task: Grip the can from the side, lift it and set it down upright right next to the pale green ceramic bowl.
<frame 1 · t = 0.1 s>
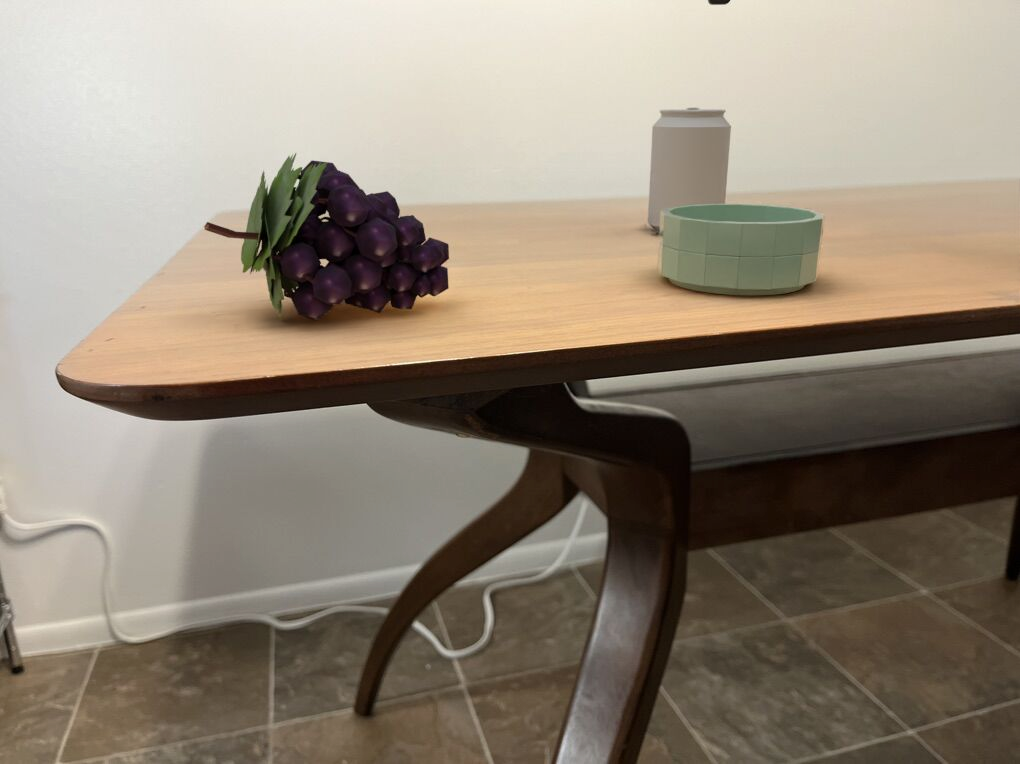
can: (684, 234, 83), on the table
fruit: (340, 315, 52), on the table
bowl: (735, 281, 60), on the table
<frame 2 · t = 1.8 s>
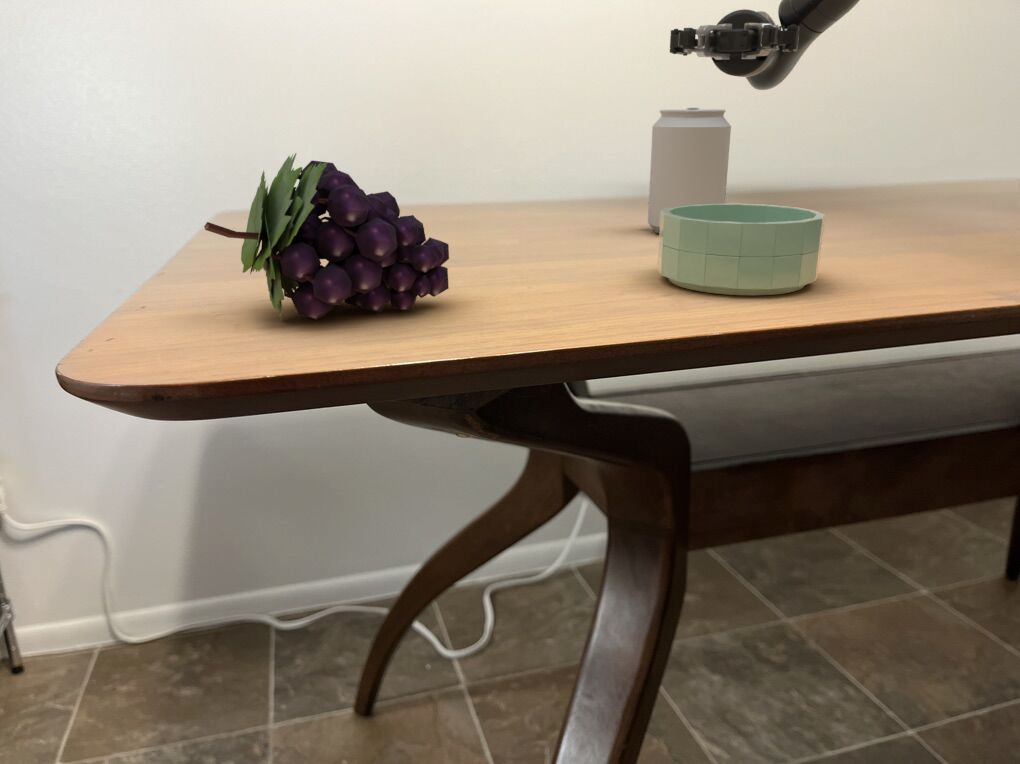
hand: (725, 36, 88), 19 cm above the table, tool horizontal, fingers open, 8 cm apart
nothing on the table moved.
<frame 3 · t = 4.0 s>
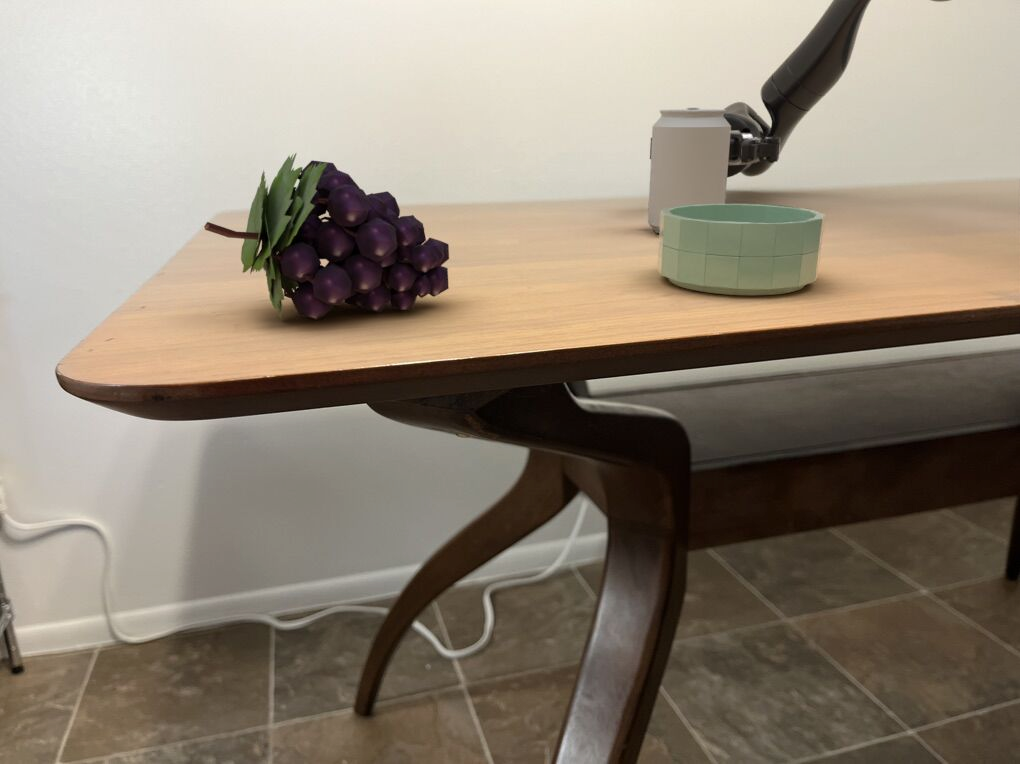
hand: (704, 151, 87), 7 cm above the table, tool horizontal, fingers open, 8 cm apart
nothing on the table moved.
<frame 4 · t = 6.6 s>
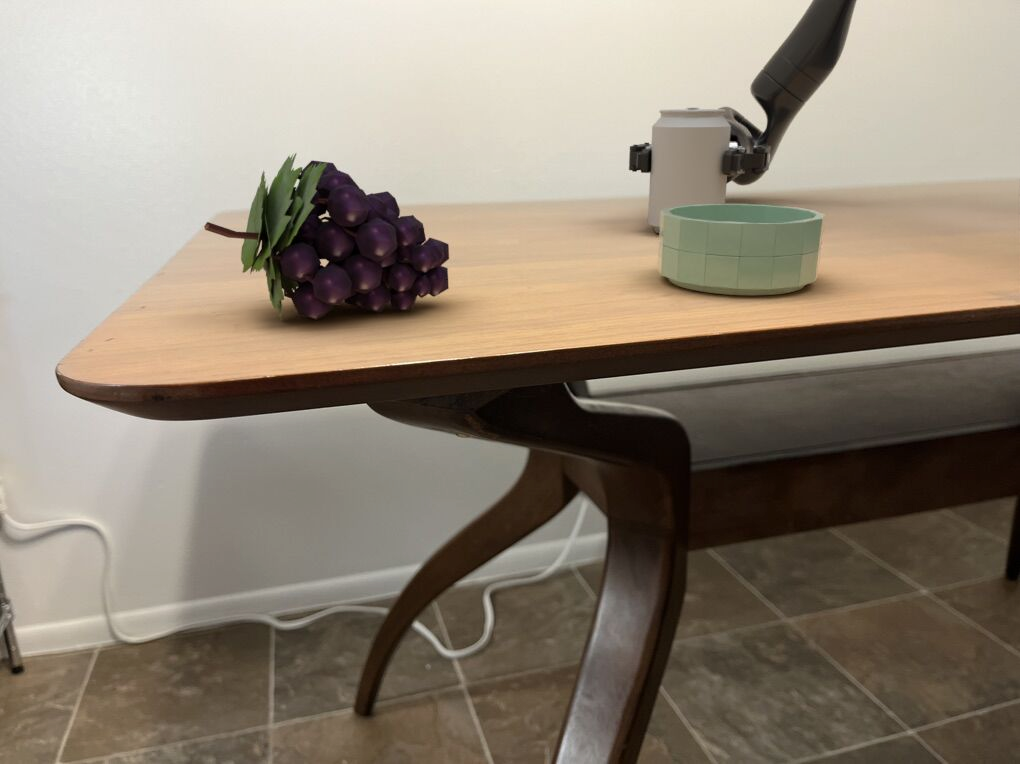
hand: (685, 162, 79), 7 cm above the table, tool horizontal, fingers closed on can, 7 cm apart
can: (684, 234, 83), on the table, touching gripper
everything else where it was.
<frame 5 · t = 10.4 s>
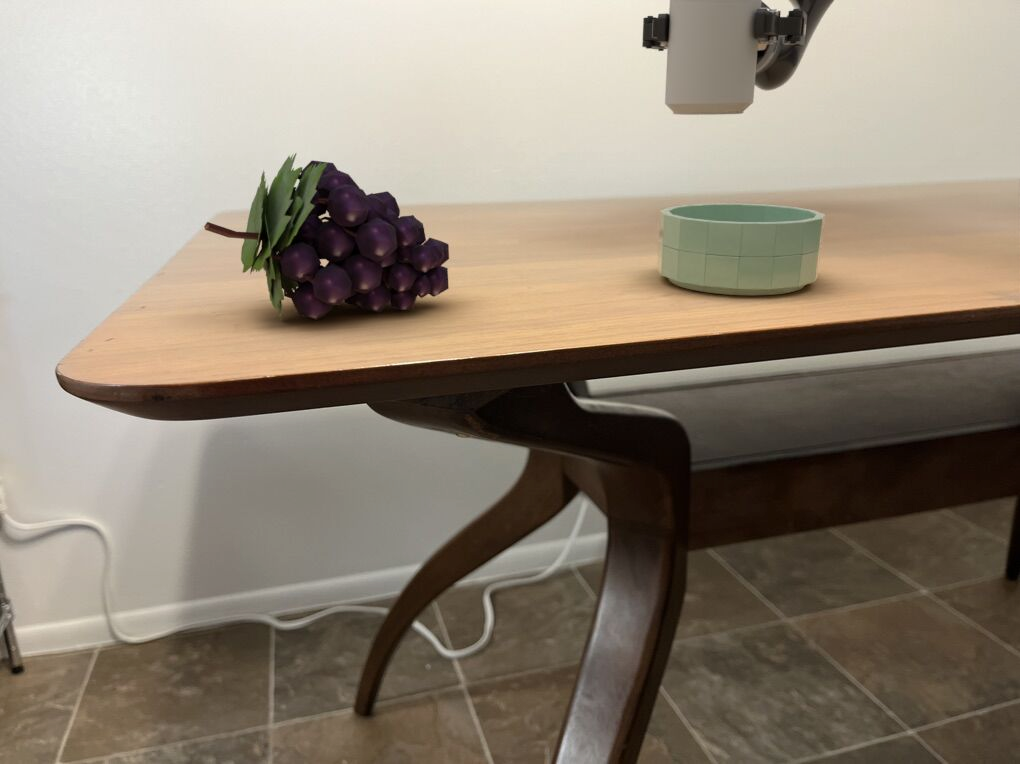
hand: (709, 25, 67), 18 cm above the table, tool horizontal, fingers closed on can, 7 cm apart
can: (707, 116, 71), point 11 cm above the table, touching gripper
everything else where it was.
when the fingers open (7 cm above the table, at t = 14.5 s): can stays where it is, on the table.
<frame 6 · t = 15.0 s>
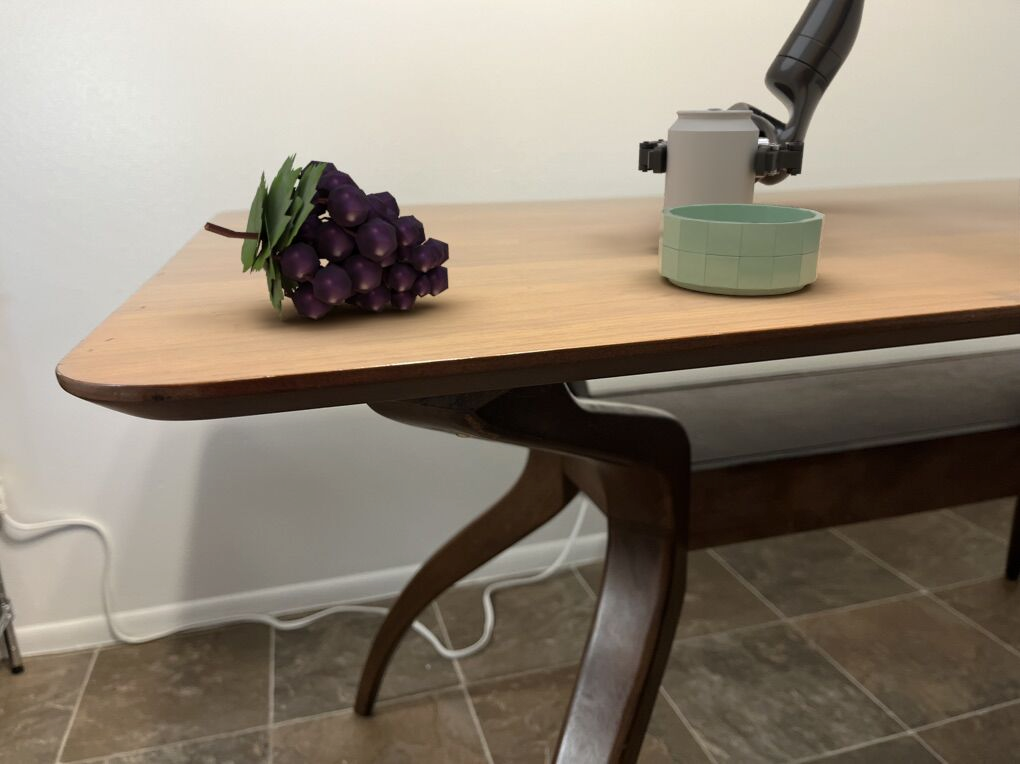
hand: (707, 161, 68), 8 cm above the table, tool horizontal, fingers open, 8 cm apart
can: (704, 253, 72), on the table
everything else where it was.
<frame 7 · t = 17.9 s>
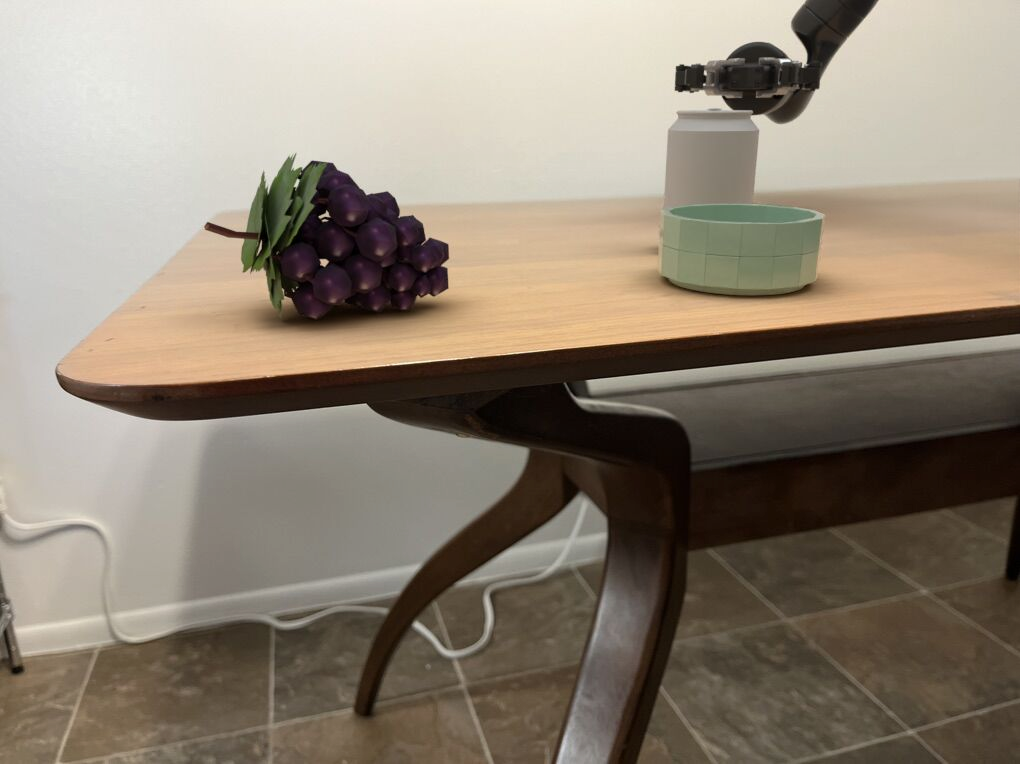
hand: (738, 75, 77), 15 cm above the table, tool horizontal, fingers open, 8 cm apart
nothing on the table moved.
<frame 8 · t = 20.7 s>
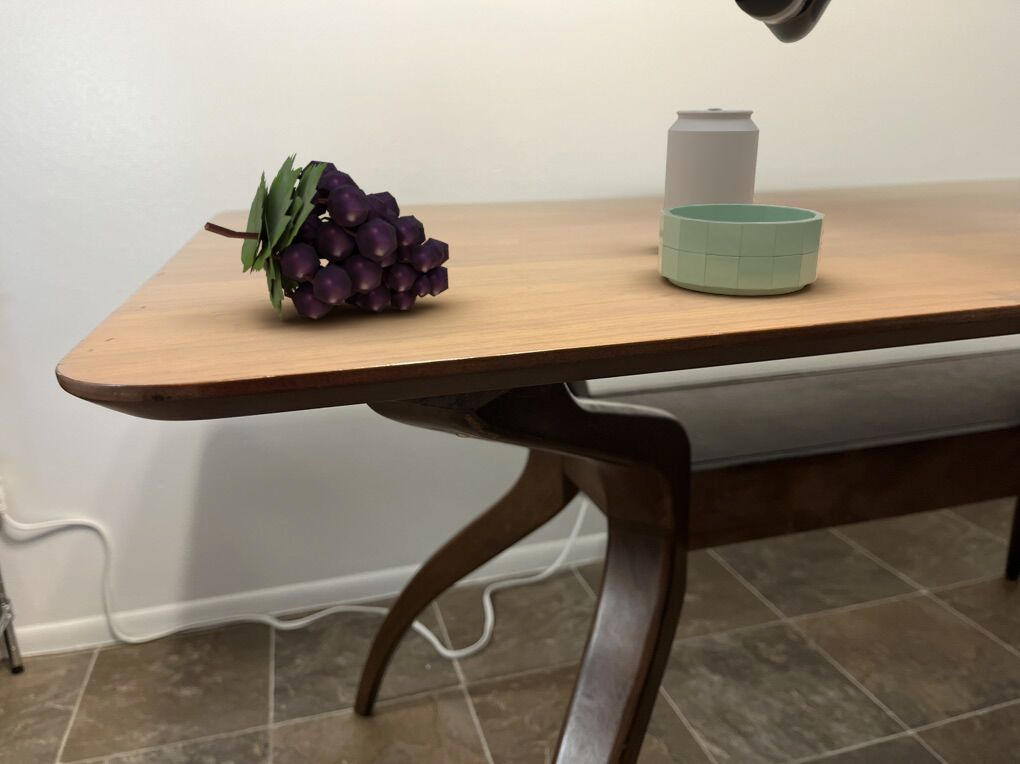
nothing on the table moved.
at the end: can 12.6 cm from the bowl (horizontally); can tilted 0°; can touching table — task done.
